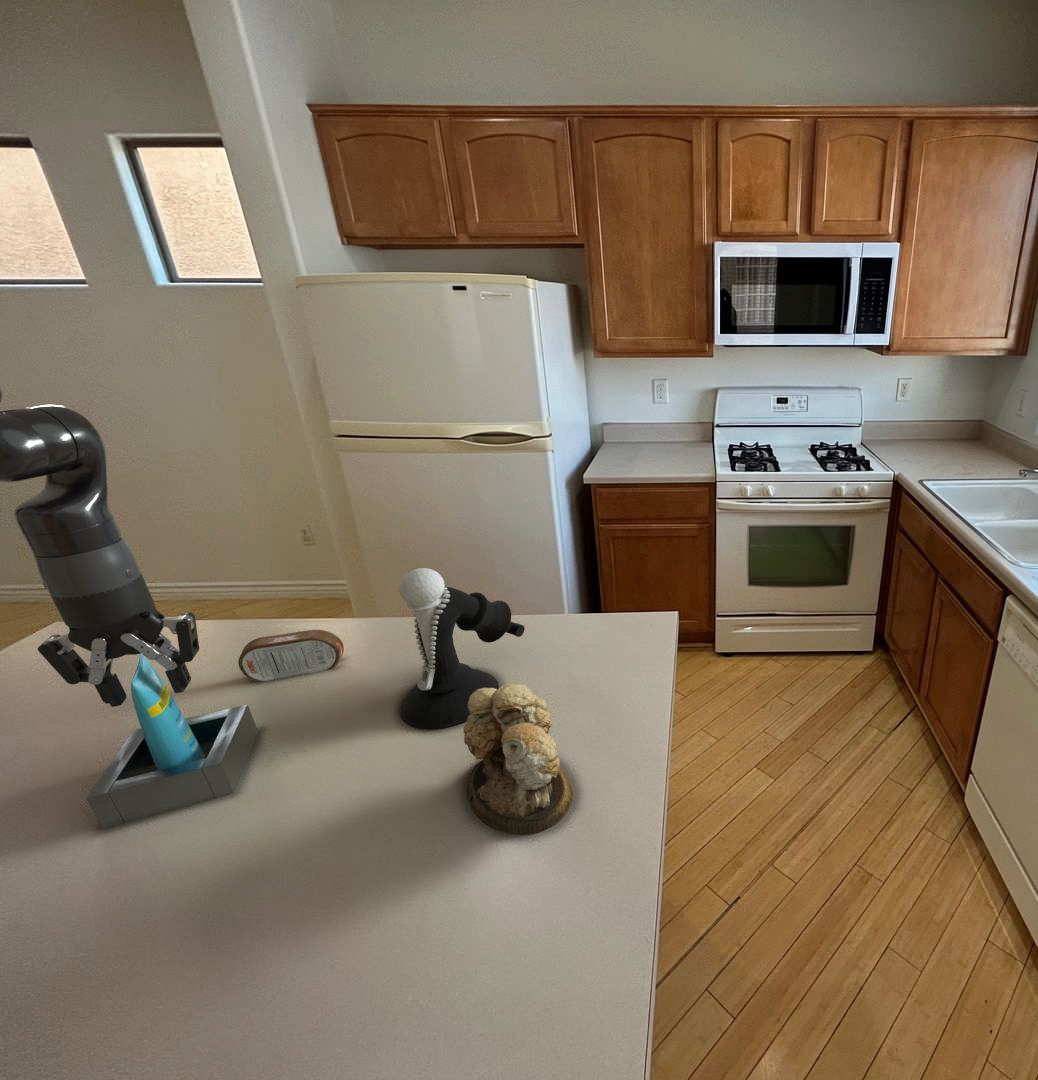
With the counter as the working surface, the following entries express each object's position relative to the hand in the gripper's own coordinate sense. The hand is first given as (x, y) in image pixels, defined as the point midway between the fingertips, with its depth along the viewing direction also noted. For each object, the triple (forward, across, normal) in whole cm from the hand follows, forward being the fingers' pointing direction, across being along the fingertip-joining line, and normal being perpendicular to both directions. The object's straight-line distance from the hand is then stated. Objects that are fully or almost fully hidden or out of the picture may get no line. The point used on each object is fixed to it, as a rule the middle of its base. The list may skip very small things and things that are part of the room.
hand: (151, 695), depth 72 cm
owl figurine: (+15, -41, +22) cm, 49 cm away
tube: (+15, 0, 0) cm, 15 cm away
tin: (+15, -9, -22) cm, 28 cm away
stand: (+14, 0, 0) cm, 14 cm away
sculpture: (+15, -37, -5) cm, 40 cm away
